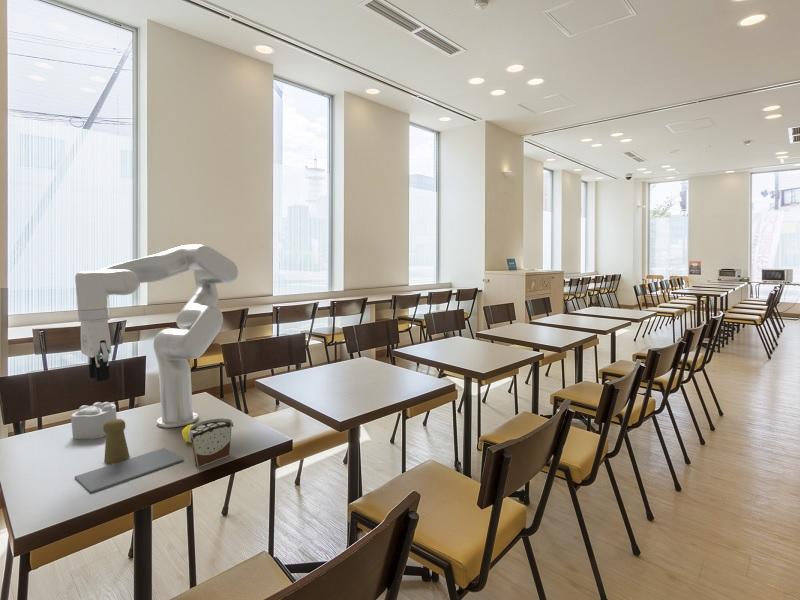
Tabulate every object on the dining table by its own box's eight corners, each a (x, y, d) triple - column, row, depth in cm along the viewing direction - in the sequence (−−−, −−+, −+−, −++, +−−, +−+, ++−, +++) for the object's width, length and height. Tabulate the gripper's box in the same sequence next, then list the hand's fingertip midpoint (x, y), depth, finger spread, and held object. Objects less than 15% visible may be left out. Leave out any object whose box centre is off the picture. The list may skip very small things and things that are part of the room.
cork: (102, 465, 124) (98, 425, 123) (106, 456, 129) (103, 418, 128) (128, 461, 126) (125, 422, 125) (131, 452, 132) (128, 415, 131)
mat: (74, 478, 117) (74, 476, 117) (164, 449, 134) (164, 447, 134) (90, 493, 109) (90, 491, 109) (183, 460, 126) (183, 459, 126)
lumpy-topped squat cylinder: (67, 439, 142) (64, 412, 141) (94, 423, 155) (92, 398, 154) (101, 438, 142) (99, 411, 141) (125, 423, 155) (123, 398, 154)
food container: (223, 448, 134) (221, 414, 133) (235, 453, 130) (233, 419, 129) (180, 463, 124) (178, 427, 123) (192, 470, 120) (189, 433, 119)
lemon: (207, 440, 141) (209, 423, 140) (196, 447, 136) (197, 430, 135) (187, 435, 142) (188, 419, 142) (175, 442, 137) (176, 425, 136)
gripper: (69, 314, 132) (74, 376, 134) (89, 319, 121) (94, 386, 123) (99, 311, 138) (103, 371, 140) (120, 316, 127) (125, 380, 129)
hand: (99, 378), depth 131 cm, fingers open, 4 cm apart
